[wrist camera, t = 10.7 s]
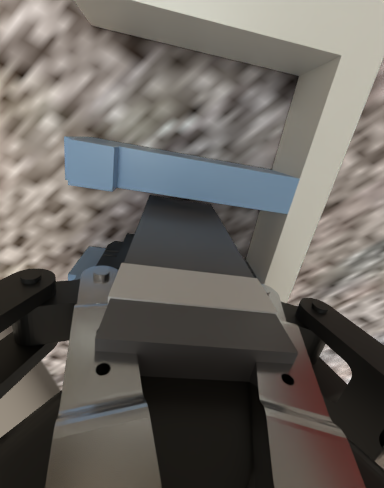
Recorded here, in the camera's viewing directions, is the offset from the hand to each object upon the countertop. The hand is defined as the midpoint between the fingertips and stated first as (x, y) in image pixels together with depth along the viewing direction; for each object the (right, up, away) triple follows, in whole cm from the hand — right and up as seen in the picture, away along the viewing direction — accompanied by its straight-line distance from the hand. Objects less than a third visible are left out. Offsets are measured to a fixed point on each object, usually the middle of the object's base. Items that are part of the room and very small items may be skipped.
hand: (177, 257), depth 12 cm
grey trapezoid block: (0, +2, +4) cm, 4 cm away
